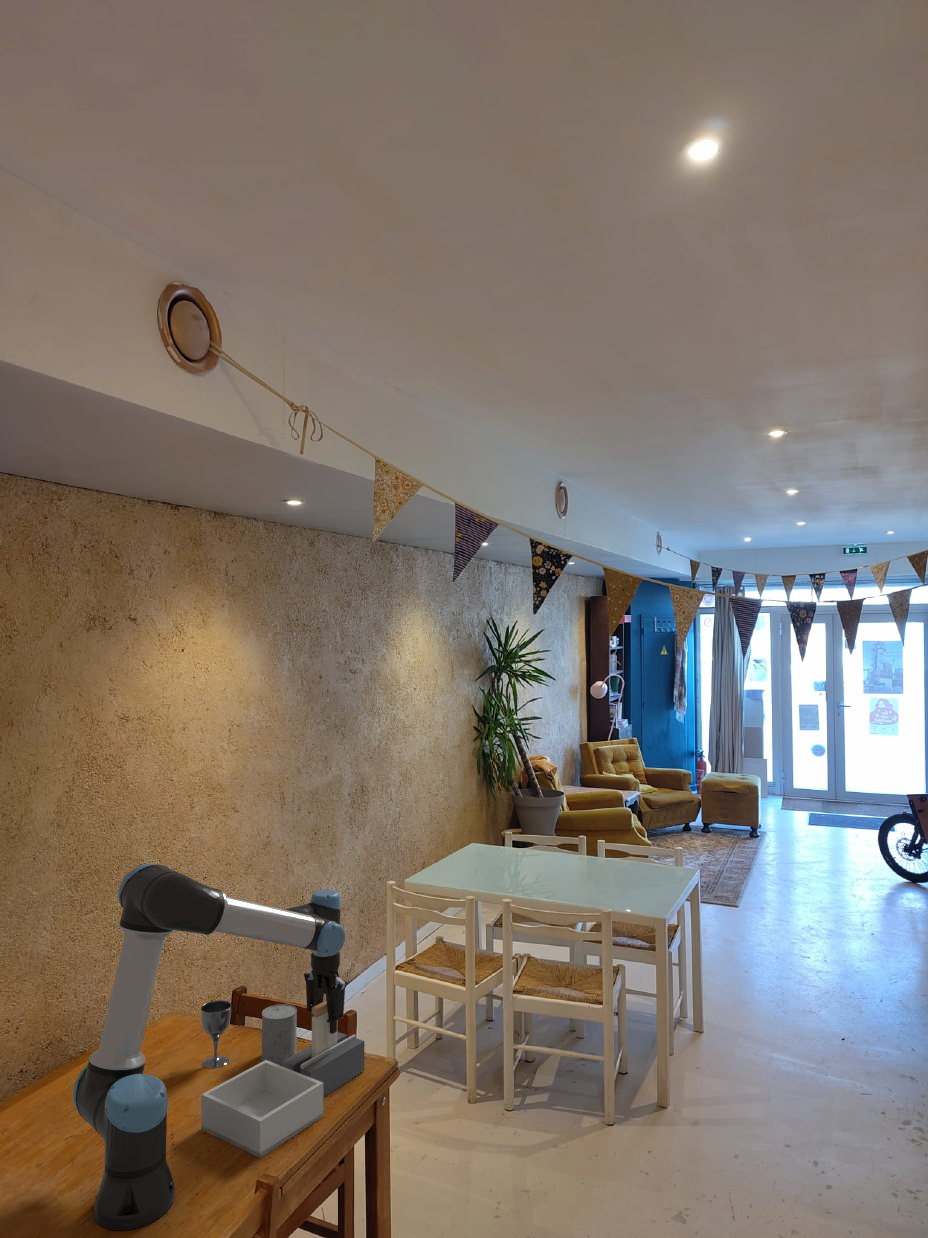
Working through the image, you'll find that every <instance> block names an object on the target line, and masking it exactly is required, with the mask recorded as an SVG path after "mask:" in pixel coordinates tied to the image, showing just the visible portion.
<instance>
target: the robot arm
mask: <svg viewBox="0 0 928 1238" xmlns="http://www.w3.org/2000/svg"><path fill="white" fill-rule="evenodd" d="M117 895H118V896H117V899H118V901H119V904H120V907H121V908H122V911H121V916H120V921H119V924H118V927H119V928H120V929H121V931H122V933H123V935H124V937H123V941H122V945H121V949H120V954H119V957H118V963H117V967H116V971H115V976H114V981H113V984H112V988H111V989H112V990H111V995H110V998H109V1002H108V1008H107V1012H106V1016H105V1020H104V1026H103V1029H102V1033H101V1038H100V1043H99V1047H98V1048H97V1049H96V1050H95V1051H94V1052H93V1053H91V1054H90V1055H89V1057H88V1061H87V1064H86V1065H85V1068H84V1069H82V1070H81V1071H80V1072H79V1074H78V1075H77V1078H76V1079H75V1081H74V1086H73V1089H72V1098H73V1099H72V1100H73V1104H74V1107H75V1109H76V1110H77V1113H78V1114H79V1116H80V1117H81V1118H82V1119H83V1121H85V1123H88V1124H89V1125H90V1126H91V1127H92V1129H93V1130H95V1132H96V1133H97V1134H98V1135H99V1136H100V1137H101V1138H102V1139H103V1140H104V1172H103V1176H102V1179H101V1181H100V1185H99V1189H98V1192H97V1194H96V1196H95V1199H94V1209H93V1211H94V1212H93V1213H94V1214H93V1215H94V1217H93V1218H94V1220H95V1221H96V1223H97V1224H98V1225H99V1226H100V1227H102V1228H105V1229H107V1230H112V1231H127V1230H129V1231H130V1230H133V1229H137V1228H141V1227H144V1226H147V1225H149V1224H152V1223H154V1222H155V1221H156V1220H158V1219H159V1218H161V1217H163V1216H164V1215H165V1214H166V1213H167V1212H168V1211H169V1210H170V1209H171V1207H172V1206H173V1204H174V1201H175V1191H176V1190H175V1189H176V1188H175V1182H174V1178H173V1176H172V1173H171V1169H170V1167H169V1164H168V1161H167V1136H168V1135H167V1134H168V1131H167V1129H168V1128H167V1127H168V1126H167V1125H168V1123H167V1122H168V1106H169V1101H168V1100H169V1099H168V1093H167V1088H166V1085H165V1083H164V1082H163V1081H162V1080H161V1079H160V1078H158V1077H157V1076H155V1075H152V1074H149V1075H146V1074H145V1073H144V1070H145V1066H146V1056H145V1055H144V1054H143V1052H142V1051H141V1050H142V1045H143V1040H144V1036H145V1031H146V1028H147V1027H146V1025H147V1021H148V1018H149V1012H150V1007H151V1004H152V1000H153V999H152V998H153V994H154V990H155V985H156V979H157V975H158V971H159V967H160V961H161V957H162V954H163V953H162V952H163V947H164V943H165V939H166V937H168V936H169V935H171V934H172V933H173V932H174V931H176V932H185V933H193V934H201V935H207V936H210V935H212V934H213V933H214V932H217V933H221V934H226V935H232V936H236V937H237V936H238V937H243V938H248V939H249V938H250V939H253V940H259V941H265V942H269V943H274V944H280V945H285V946H290V947H294V948H295V947H296V948H299V949H304V950H310V952H311V954H310V968H311V969H312V970H309V971H307V972H305V973H304V974H303V977H304V981H305V994H306V995H305V996H306V997H305V999H306V1011H307V1012H308V1013H311V1015H312V1016H314V1014H312V1007H314V1006H316V1005H318V1004H320V1003H322V1002H324V997H325V1001H327V1010H328V1020H327V1021H326V1047H329V1046H331V1045H333V1044H335V1032H336V1031H337V1032H338V1025H337V1020H342V1019H343V1018H344V1015H345V1014H344V1012H345V997H346V996H345V995H346V988H347V986H348V980H342V979H341V978H340V974H339V967H340V965H341V953H340V951H341V950H342V949H343V947H344V945H345V942H346V931H345V929H344V927H343V926H342V925H341V912H342V911H341V910H342V908H341V896H340V893H339V892H338V891H336V890H333V889H319V890H317V891H315V892H313V893H312V894H311V898H310V902H308V903H304V904H301V905H298V906H293V907H288V908H283V909H282V908H279V907H275V906H270V905H267V904H261V903H258V902H253V901H250V900H246V899H245V900H244V899H242V898H241V899H240V898H235V897H231V896H228V895H226V894H225V892H224V891H223V890H222V889H219V888H215V887H212V886H211V887H210V886H209V885H206V884H203V883H201V882H199V881H197V880H195V879H193V878H191V877H189V876H187V875H186V874H183V873H180V872H178V871H176V870H174V869H172V868H170V867H168V866H166V865H163V864H158V863H152V862H151V863H149V862H148V863H143V864H140V865H138V866H136V867H135V868H133V869H131V871H129V872H127V874H126V875H125V876H124V877H123V879H122V881H121V883H120V885H119V888H118V893H117Z"/></svg>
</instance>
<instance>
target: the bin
mask: <svg viewBox="0 0 928 1238" xmlns="http://www.w3.org/2000/svg"><path fill="white" fill-rule="evenodd" d="M200 1101H201V1107H200V1108H201V1110H200V1111H201V1114H200V1115H201V1116H200V1117H201V1119H200V1121H201V1122H200V1129H201V1130H202V1131H204V1132H205V1133H208V1134H210V1135H212V1136H214V1137H216V1138H218V1139H220V1140H222V1141H224V1142H225V1143H228V1144H230V1145H231V1146H234V1147H236V1148H238V1149H240V1150H243V1151H244V1152H245V1153H248V1154H250V1155H252V1156H255V1157H257V1158H258V1159H261V1158H263V1157H265V1156H266V1155H267V1154H269V1153H270V1152H272V1151H273V1150H275V1149H276V1148H278V1147H280V1146H281V1145H282V1144H284V1143H286V1142H287V1141H288V1140H290V1139H291V1138H293V1137H294V1136H297V1134H299V1133H301V1132H302V1131H304V1130H305V1129H306V1128H308V1127H309V1126H311V1125H313V1124H314V1123H316V1122H317V1121H319V1120H320V1119H322V1118H323V1117H324V1097H323V1082H320V1081H318V1080H315V1079H313V1078H310V1077H308V1076H305V1075H303V1074H300V1073H298V1072H295V1071H293V1070H290V1069H287V1068H285V1067H283V1065H277V1064H275V1063H272V1062H270V1061H267V1060H265V1061H261V1062H259V1063H257V1064H255V1065H254V1066H252V1067H250V1068H248V1069H246V1070H245V1071H242V1072H240V1073H239V1074H237V1075H236V1076H233V1077H231V1078H229V1079H227V1080H225V1081H224V1082H222V1083H221V1084H218V1085H217V1086H215V1087H213V1088H211V1089H209V1090H207V1091H205V1092H204V1093H202V1094H201V1100H200Z"/></svg>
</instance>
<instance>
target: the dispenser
mask: <svg viewBox="0 0 928 1238" xmlns="http://www.w3.org/2000/svg"><path fill="white" fill-rule="evenodd" d="M282 1067H285V1068H287V1069H290V1070H293V1071H295V1072H298V1073H300V1074H303V1075H305V1076H308V1077H310V1078H313V1079H315V1080H318V1081H320V1082H323V1098H325V1097H327V1096H328V1095H330V1094H331V1093H333V1092H335V1091H336V1090H338V1089H340V1088H341V1087H342V1086H344V1085H345V1084H347V1083H349V1082H350V1081H352V1080H353V1079H355V1078H356V1077H355V1076H357V1075H358V1074H360V1073H361V1072H363V1071H364V1072H365V1040H364V1039H363V1040H362V1039H360V1038H357V1035H356V1034H352V1035H350V1036H349V1037H348V1034H345V1033H343V1032H339V1031H337V1044H336V1045H334V1046H333V1047H331V1048H329V1049H327V1050H326V1051H324V1052H322V1053H320V1054H319V1055H317V1056H315V1057H313V1058H312V1044H311V1045H310V1046H308V1047H306V1048H304V1049H302V1050H301V1051H299V1052H296V1054H295V1055H293V1056H291V1057H289V1058H288V1059H286V1060H284V1061H283V1064H282ZM364 1072H363V1073H364ZM361 1074H362V1073H361ZM361 1074H360V1075H361ZM358 1076H359V1075H358ZM358 1076H357V1077H358ZM354 1077H355V1078H354ZM352 1078H353V1079H352ZM348 1081H349V1082H348ZM343 1084H344V1085H343Z"/></svg>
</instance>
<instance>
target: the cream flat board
mask: <svg viewBox="0 0 928 1238" xmlns="http://www.w3.org/2000/svg"><path fill="white" fill-rule="evenodd" d="M312 1014H314V1016H313V1015H312ZM311 1015H312V1016H311V1045H312V1058H313V1057H315V1056H317V1055H319V1054H320V1053H322V1052H324V1051H326V1050H327V1049H329V1048H331V1047H333V1046H334V1045H336V1044H337V1032H338V1030H337V1031H336V1032H335V1044H333V1045H331V1046H329V1047H326V1021H327V1020H328V1010H327V1001H326V1000H323V1002H322V1003H320V1004H318V1005H316V1006H314V1007H312V1013H311ZM338 1023H339V1022H338V1020H337V1026H338Z"/></svg>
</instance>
